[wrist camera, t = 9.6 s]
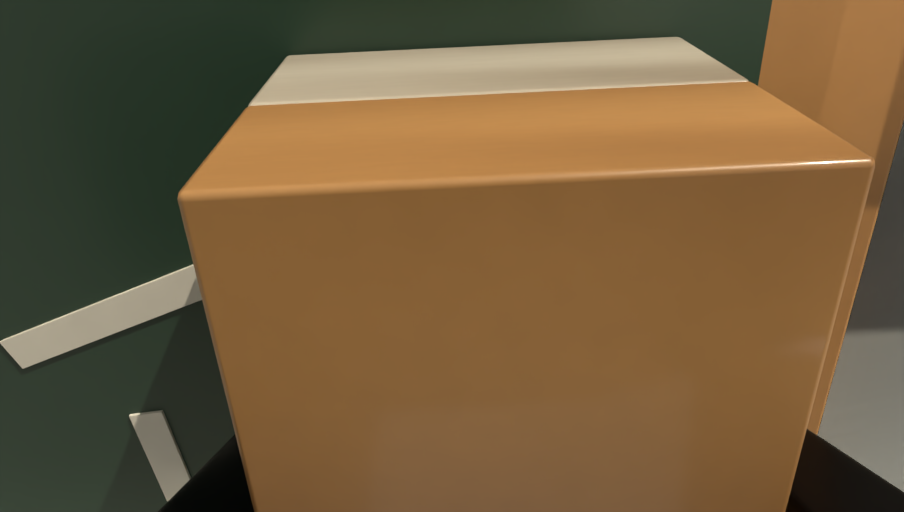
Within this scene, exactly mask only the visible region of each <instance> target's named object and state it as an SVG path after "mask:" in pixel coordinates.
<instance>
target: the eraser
mask: <svg viewBox="0 0 904 512" xmlns="http://www.w3.org/2000/svg"><path fill="white" fill-rule="evenodd" d="M874 169H875V161H874V159H873V157H871V156H869V155H868V154H866V153H865V152H863V151H861V150H860V149H858V148H857V147H855V146H853V145H852V144H850V143H849V142H847V141H845V140H844V139H842V138H841V137H839V136H837V135H836V134H834V133H833V132H831V131H829V130H828V129H826V128H824V127H823V126H821V125H820V124H818V123H816V122H815V121H813V120H812V119H810V118H808V117H807V116H805V115H804V114H802V113H800V112H799V111H797V110H796V109H794V108H792V107H791V106H789V105H788V104H786V103H784V102H783V101H781V100H780V99H778V98H776V97H775V96H773V95H772V94H770V93H768V92H767V91H765V90H763V89H762V88H760V87H759V86H757V85H755V84H754V83H751V82H749V81H748V79H746V78H744V77H743V76H741V75H740V74H738V73H736V72H735V71H733V70H732V69H730V68H728V67H727V66H725V65H724V64H722V63H720V62H719V61H717V60H716V59H714V58H712V57H711V56H709V55H707V54H706V53H704V52H703V51H701V50H699V49H698V48H696V47H695V46H693V45H691V44H690V43H688V42H687V41H685V40H683V39H682V38H680V37H660V38H639V39H618V40H598V41H577V42H556V43H535V44H515V45H494V46H473V47H452V48H432V49H411V50H390V51H369V52H349V53H328V54H307V55H289V56H287V57H286V58H285V59H284V60H283V62H282V63H281V64H280V65H279V67H278V68H277V69H276V70H275V72H274V73H273V74H272V75H271V77H270V78H269V79H268V80H267V82H266V83H265V84H264V85H263V87H262V88H261V89H260V91H259V92H258V93H257V94H256V96H255V97H254V98H253V99H252V101H251V102H250V103H249V105H248V107H247V108H245V110H244V111H243V112H242V113H241V115H240V116H239V117H238V118H237V120H236V121H235V122H234V123H233V125H232V126H231V127H230V128H229V130H228V131H227V132H226V133H225V135H224V136H223V137H222V138H221V140H220V141H219V142H218V143H217V145H216V146H215V147H214V148H213V150H212V151H211V152H210V153H209V155H208V156H207V157H206V158H205V160H204V161H203V162H202V163H201V165H200V166H199V167H198V168H197V170H196V171H195V172H194V173H193V175H192V176H191V177H190V179H189V180H188V181H187V182H186V184H185V185H184V186H183V187H182V189H181V190H180V191H179V193H178V198H177V200H178V204H179V208H180V212H181V216H182V220H183V224H184V228H185V232H186V236H187V240H188V244H189V249H190V253H191V257H192V261H193V265H194V269H195V273H196V277H197V281H198V285H199V289H200V293H201V297H202V301H203V305H204V309H205V313H206V318H207V322H208V326H209V330H210V334H211V338H212V342H213V346H214V350H215V354H216V358H217V362H218V366H219V370H220V374H221V378H222V383H223V387H224V391H225V395H226V399H227V403H228V407H229V411H230V415H231V419H232V423H233V427H234V431H235V435H236V439H237V443H238V447H239V452H240V456H241V460H242V464H243V468H244V472H245V476H246V480H247V484H248V488H249V492H250V496H251V500H252V504H253V508H254V512H785V511H786V507H787V503H788V499H789V496H790V492H791V488H792V484H793V480H794V476H795V472H796V469H797V465H798V461H799V457H800V453H801V449H802V446H803V442H804V438H805V434H806V430H807V426H808V423H809V419H810V415H811V411H812V407H813V403H814V400H815V396H816V392H817V388H818V384H819V380H820V377H821V373H822V369H823V365H824V361H825V357H826V354H827V350H828V346H829V342H830V338H831V334H832V331H833V327H834V323H835V319H836V315H837V311H838V307H839V304H840V300H841V296H842V292H843V288H844V284H845V281H846V277H847V273H848V269H849V265H850V261H851V258H852V254H853V250H854V246H855V242H856V238H857V235H858V231H859V227H860V223H861V219H862V215H863V212H864V208H865V204H866V200H867V196H868V192H869V189H870V185H871V181H872V177H873V173H874Z"/></svg>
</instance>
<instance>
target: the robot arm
mask: <svg viewBox="0 0 904 512" xmlns="http://www.w3.org/2000/svg"><path fill="white" fill-rule="evenodd" d="M158 512H254V508H253V504H252V500H251V496H250V492H249V488H248V484H247V480H246V476H245V472H244V468H243V464H242V460H241V456H240V452H239V447H238V443H237V439H236V435H234V436H233V437H232V438H231V439H230V440H229V441H228V442H227V443H226V444H225V445H224V446H223V447H222V448H221V449H220V450H219V451H218V452H217V453H216V454H215V455H214V456H213V457H212V458H211V459H210V460H209V461H208V462H207V463H206V464H205V465H204V466H203V467H202V468H201V469H200V470H199V471H198V472H197V473H196V474H195V475H194V476H193V477H192V478H191V479H190V480H189V481H188V482H187V483H186V484H185V485H184V486H183V487H182V488H181V489H180V490H179V491H178V492H177V493H176V494H175V495H174V496H173V497H172V498H171V499H170V500H169V501H168V502H167V503H166V504H165V505H164V506H163V507H162V508H161V509H160V510H159V511H158ZM785 512H904V492H902V491H901V490H899V489H898V488H896V487H895V486H893V485H892V484H890V483H889V482H887V481H886V480H884V479H883V478H881V477H880V476H878V475H877V474H875V473H874V472H872V471H871V470H869V469H868V468H866V467H865V466H863V465H862V464H860V463H858V462H857V461H855V460H854V459H852V458H851V457H849V456H848V455H846V454H845V453H843V452H842V451H840V450H839V449H837V448H836V447H834V446H833V445H831V444H830V443H828V442H827V441H825V440H824V439H822V438H821V437H819V436H818V435H816V434H815V433H813V432H811V431H810V430H808V429H807V430H806V434H805V438H804V442H803V446H802V449H801V453H800V457H799V461H798V465H797V469H796V472H795V476H794V480H793V484H792V488H791V492H790V496H789V499H788V503H787V507H786V511H785Z"/></svg>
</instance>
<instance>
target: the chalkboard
mask: <svg viewBox="0 0 904 512" xmlns="http://www.w3.org/2000/svg"><path fill="white" fill-rule="evenodd" d="M660 37H680V38H682V39H683V40H685V41H687V42H688V43H690V44H691V45H693V46H695V47H696V48H698V49H699V50H701V51H703V52H704V53H706V54H707V55H709V56H711V57H712V58H714V59H716V60H717V61H719V62H720V63H722V64H724V65H725V66H727V67H728V68H730V69H732V70H733V71H735V72H736V73H738V74H740V75H741V76H743V77H744V78H746V79H748V81H749V82H751V83H754V84H755V85H757V86H759V87H760V88H762V89H763V90H765V91H767V92H768V93H770V94H772V95H773V96H775V97H776V98H778V99H780V100H781V101H783V102H784V103H786V104H788V105H789V106H791V107H792V108H794V109H796V110H797V111H799V112H800V113H802V114H804V115H805V116H807V117H808V118H810V119H812V120H813V121H815V122H816V123H818V124H820V125H821V126H823V127H824V128H826V129H828V130H829V131H831V132H833V133H834V134H836V135H837V136H839V137H841V138H842V139H844V140H845V141H847V142H849V143H850V144H852V145H853V146H855V147H857V148H858V149H860V150H861V151H863V152H865V153H866V154H868V155H869V156H871V157H873V159H874V161H875V169H874V173H873V177H872V181H871V185H870V189H869V192H868V196H867V200H866V204H865V208H864V212H863V215H862V219H861V223H860V227H859V231H858V235H857V238H856V242H855V246H854V250H853V254H852V258H851V261H850V265H849V269H848V273H847V277H846V281H845V284H844V288H843V292H842V296H841V300H840V304H839V307H838V311H837V315H836V319H835V323H834V327H833V331H832V334H831V338H830V342H829V346H828V350H827V354H826V357H825V361H824V365H823V369H822V373H821V377H820V380H819V384H818V388H817V392H816V396H815V400H814V403H813V407H812V411H811V415H810V419H809V423H808V426H807V429H808V430H810V431H811V432H813V433H815V434H816V435H817V434H818V430H819V426H820V423H821V419H822V415H823V412H824V408H825V405H826V401H827V397H828V394H829V390H830V386H831V383H832V379H833V375H834V372H835V368H836V365H837V361H838V357H839V354H840V350H841V346H842V343H843V339H844V335H845V332H846V328H847V325H848V321H849V317H850V314H851V310H852V306H853V303H854V299H855V295H856V292H857V288H858V285H859V281H860V277H861V274H862V270H863V266H864V263H865V259H866V255H867V252H868V248H869V245H870V241H871V237H872V234H873V230H874V226H875V223H876V219H877V215H878V212H879V208H880V204H881V201H882V197H883V194H884V190H885V186H886V183H887V179H888V175H889V172H890V168H891V164H892V161H893V157H894V154H895V150H896V146H897V143H898V139H899V135H900V132H901V128H902V124H903V121H904V0H0V512H158V511H159V510H160V509H161V508H162V507H163V506H164V505H165V504H166V503H167V502H168V501H169V500H170V499H171V498H172V497H173V496H174V495H175V494H176V493H177V492H178V491H179V490H180V489H181V488H182V487H183V486H184V485H185V484H186V483H187V482H188V481H189V480H190V479H191V478H192V477H193V476H194V475H195V474H196V473H197V472H198V471H199V470H200V469H201V468H202V467H203V466H204V465H205V464H206V463H207V462H208V461H209V460H210V459H211V458H212V457H213V456H214V455H215V454H216V453H217V452H218V451H219V450H220V449H221V448H222V447H223V446H224V445H225V444H226V443H227V442H228V441H229V440H230V439H231V438H232V437H233V436H234V435H235V431H234V427H233V423H232V419H231V415H230V411H229V407H228V403H227V399H226V395H225V391H224V387H223V383H222V378H221V374H220V370H219V366H218V362H217V358H216V354H215V350H214V346H213V342H212V338H211V334H210V330H209V326H208V322H207V318H206V313H205V309H204V305H203V301H202V297H201V293H200V289H199V285H198V281H197V277H196V273H195V269H194V265H193V261H192V257H191V253H190V249H189V244H188V240H187V236H186V232H185V228H184V224H183V220H182V216H181V212H180V208H179V204H178V200H177V198H178V193H179V191H180V190H181V189H182V187H183V186H184V185H185V184H186V182H187V181H188V180H189V179H190V177H191V176H192V175H193V173H194V172H195V171H196V170H197V168H198V167H199V166H200V165H201V163H202V162H203V161H204V160H205V158H206V157H207V156H208V155H209V153H210V152H211V151H212V150H213V148H214V147H215V146H216V145H217V143H218V142H219V141H220V140H221V138H222V137H223V136H224V135H225V133H226V132H227V131H228V130H229V128H230V127H231V126H232V125H233V123H234V122H235V121H236V120H237V118H238V117H239V116H240V115H241V113H242V112H243V111H244V110H245V108H247V107H248V105H249V103H250V102H251V101H252V99H253V98H254V97H255V96H256V94H257V93H258V92H259V91H260V89H261V88H262V87H263V85H264V84H265V83H266V82H267V80H268V79H269V78H270V77H271V75H272V74H273V73H274V72H275V70H276V69H277V68H278V67H279V65H280V64H281V63H282V62H283V60H284V59H285V58H286V57H287V56H289V55H307V54H328V53H349V52H369V51H390V50H411V49H432V48H452V47H473V46H494V45H515V44H535V43H556V42H577V41H598V40H618V39H639V38H660Z"/></svg>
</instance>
